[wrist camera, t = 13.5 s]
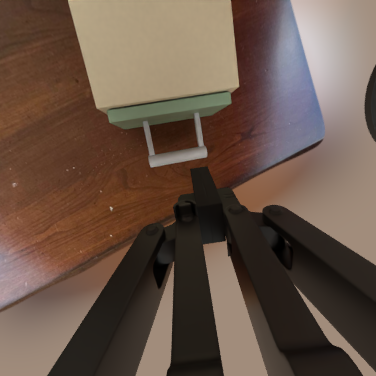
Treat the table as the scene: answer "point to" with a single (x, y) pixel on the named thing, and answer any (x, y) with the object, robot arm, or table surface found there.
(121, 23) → the cabinet
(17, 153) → the table surface
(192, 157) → the drawer
